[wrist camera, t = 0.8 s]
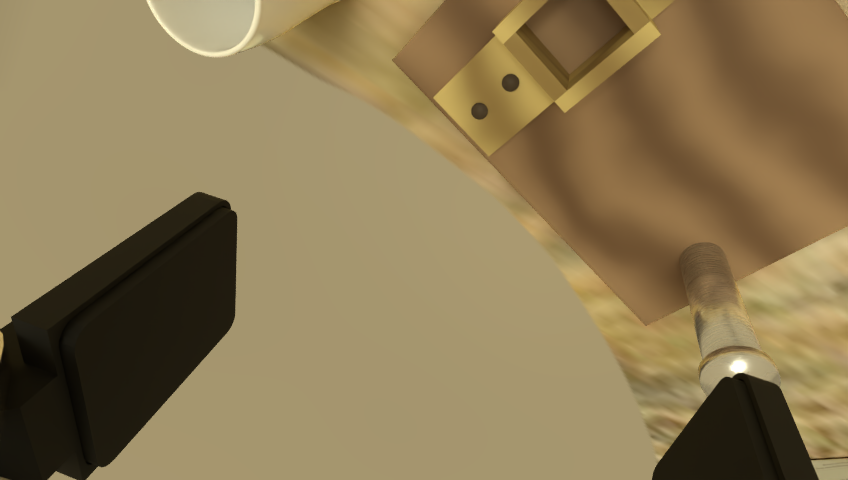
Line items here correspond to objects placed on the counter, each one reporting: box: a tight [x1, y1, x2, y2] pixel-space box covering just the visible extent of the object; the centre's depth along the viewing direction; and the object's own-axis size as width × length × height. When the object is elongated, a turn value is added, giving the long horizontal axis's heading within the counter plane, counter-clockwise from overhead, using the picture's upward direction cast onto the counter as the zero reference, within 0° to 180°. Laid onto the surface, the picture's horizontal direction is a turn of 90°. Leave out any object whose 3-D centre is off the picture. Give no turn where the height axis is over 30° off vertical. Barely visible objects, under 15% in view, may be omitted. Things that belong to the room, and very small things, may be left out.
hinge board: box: [392, 0, 848, 326], centre depth 35 cm, size 22×30×5 cm
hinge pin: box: [679, 242, 781, 396], centre depth 35 cm, size 4×4×13 cm
